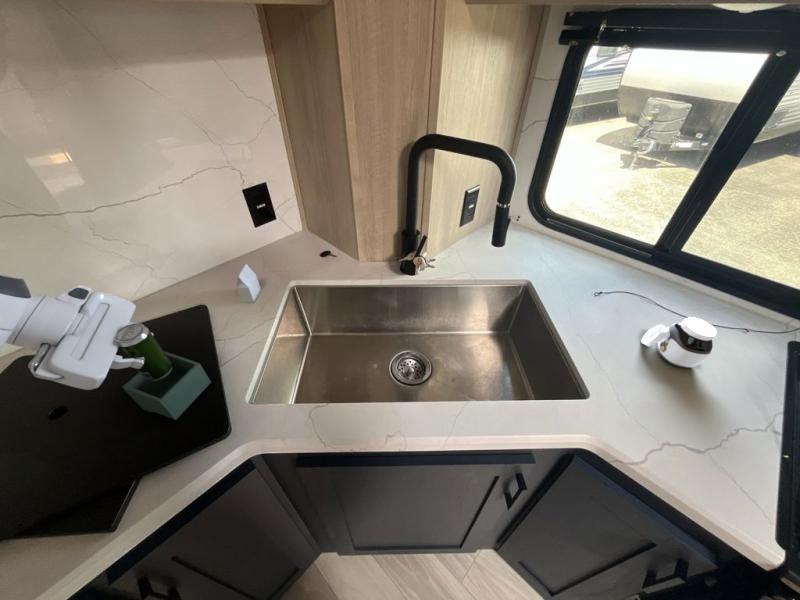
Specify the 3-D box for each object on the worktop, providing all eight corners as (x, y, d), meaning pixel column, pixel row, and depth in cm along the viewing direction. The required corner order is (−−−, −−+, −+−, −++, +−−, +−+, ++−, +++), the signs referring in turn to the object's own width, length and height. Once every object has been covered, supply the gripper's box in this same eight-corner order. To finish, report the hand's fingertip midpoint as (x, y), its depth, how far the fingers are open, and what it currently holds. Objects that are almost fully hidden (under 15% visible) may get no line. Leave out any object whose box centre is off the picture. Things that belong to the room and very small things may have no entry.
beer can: (165, 382, 66) (135, 343, 58) (138, 382, 66) (104, 343, 58) (178, 361, 70) (152, 322, 62) (153, 361, 70) (123, 322, 62)
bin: (178, 423, 69) (160, 401, 64) (142, 409, 72) (121, 387, 66) (213, 385, 77) (199, 363, 71) (179, 373, 79) (164, 351, 74)
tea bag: (260, 289, 105) (252, 263, 98) (254, 302, 100) (244, 276, 93) (249, 288, 105) (240, 263, 98) (242, 302, 99) (231, 276, 93)
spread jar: (697, 374, 83) (729, 344, 75) (650, 366, 84) (676, 336, 77) (677, 340, 92) (703, 310, 84) (634, 333, 93) (656, 303, 86)
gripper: (29, 361, 47) (140, 383, 55) (84, 279, 61) (166, 307, 70) (14, 386, 48) (124, 404, 57) (71, 301, 63) (152, 325, 72)
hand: (147, 350), depth 64 cm, fingers closed on beer can, 5 cm apart
